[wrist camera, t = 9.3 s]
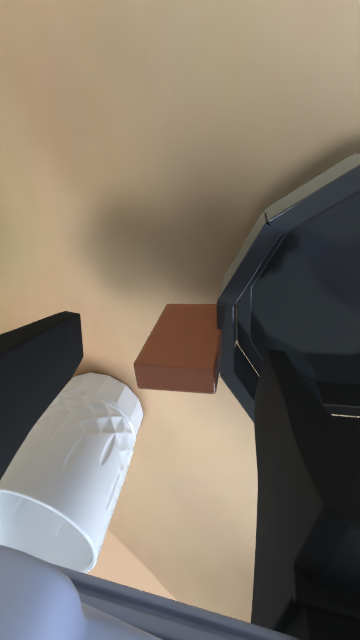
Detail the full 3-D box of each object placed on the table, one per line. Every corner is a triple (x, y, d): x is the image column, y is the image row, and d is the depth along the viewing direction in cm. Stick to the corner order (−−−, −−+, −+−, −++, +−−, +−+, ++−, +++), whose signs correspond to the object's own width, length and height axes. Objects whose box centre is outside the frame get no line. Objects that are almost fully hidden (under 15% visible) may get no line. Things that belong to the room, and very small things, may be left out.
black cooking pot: (585, 130, 12) (1012, 109, 5) (465, 403, 18) (588, 553, 11) (165, 166, 15) (98, 181, 9) (186, 384, 21) (156, 490, 15)
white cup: (60, 351, 24) (-50, 468, 15) (160, 385, 23) (105, 526, 15) (56, 421, 28) (-33, 544, 19) (141, 451, 27) (88, 591, 19)
